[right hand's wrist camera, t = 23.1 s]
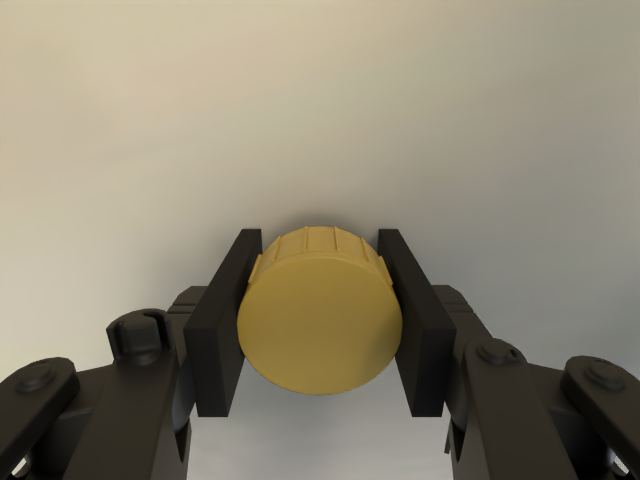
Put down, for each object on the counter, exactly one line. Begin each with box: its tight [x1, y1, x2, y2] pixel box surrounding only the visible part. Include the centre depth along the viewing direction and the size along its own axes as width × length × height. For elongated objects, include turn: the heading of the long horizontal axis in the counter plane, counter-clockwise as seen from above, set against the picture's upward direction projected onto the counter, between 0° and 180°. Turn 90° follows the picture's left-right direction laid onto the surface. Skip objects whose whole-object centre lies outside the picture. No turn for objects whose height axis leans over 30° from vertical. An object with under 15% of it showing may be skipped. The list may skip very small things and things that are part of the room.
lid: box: [237, 226, 403, 395], centre depth 11 cm, size 5×5×2 cm
